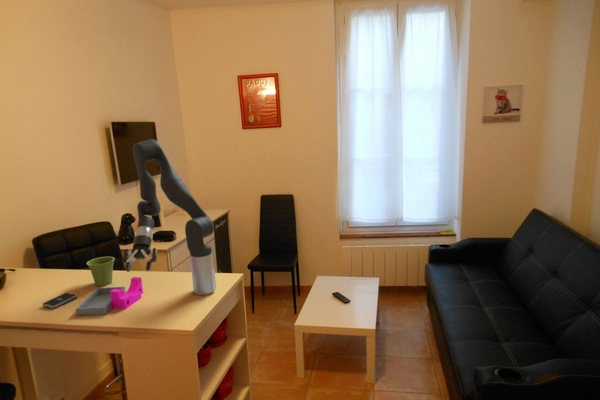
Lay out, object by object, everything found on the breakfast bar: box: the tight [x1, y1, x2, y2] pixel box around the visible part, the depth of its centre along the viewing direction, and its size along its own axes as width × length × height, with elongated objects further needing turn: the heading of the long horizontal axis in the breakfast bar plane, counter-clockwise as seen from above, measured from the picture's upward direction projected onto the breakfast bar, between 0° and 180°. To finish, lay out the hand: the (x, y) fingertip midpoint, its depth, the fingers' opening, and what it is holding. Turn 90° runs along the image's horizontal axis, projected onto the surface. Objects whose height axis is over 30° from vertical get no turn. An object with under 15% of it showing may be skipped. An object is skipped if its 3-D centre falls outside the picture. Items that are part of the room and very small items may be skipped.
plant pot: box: [86, 256, 116, 287], centre depth 185 cm, size 12×12×11 cm
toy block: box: [110, 276, 144, 310], centre depth 166 cm, size 15×6×8 cm, turn 166°
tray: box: [75, 286, 127, 317], centre depth 164 cm, size 12×20×3 cm, turn 3°
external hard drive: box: [42, 292, 78, 310], centre depth 167 cm, size 7×11×2 cm, turn 158°
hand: (137, 270), depth 173 cm, fingers open, 8 cm apart
